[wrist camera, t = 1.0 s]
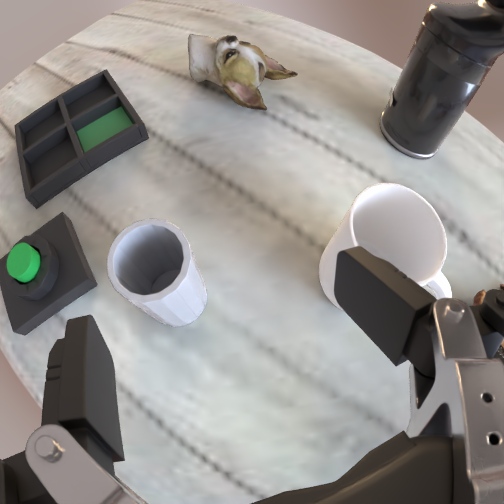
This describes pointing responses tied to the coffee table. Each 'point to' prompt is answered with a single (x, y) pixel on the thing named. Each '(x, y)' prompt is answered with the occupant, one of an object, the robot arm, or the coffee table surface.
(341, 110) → the coffee table surface
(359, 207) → the mug
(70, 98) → the compartment tray
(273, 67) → the ceramic sculpture
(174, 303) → the tumbler
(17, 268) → the button
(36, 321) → the control box
